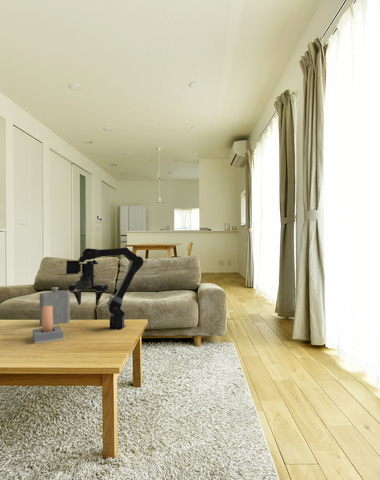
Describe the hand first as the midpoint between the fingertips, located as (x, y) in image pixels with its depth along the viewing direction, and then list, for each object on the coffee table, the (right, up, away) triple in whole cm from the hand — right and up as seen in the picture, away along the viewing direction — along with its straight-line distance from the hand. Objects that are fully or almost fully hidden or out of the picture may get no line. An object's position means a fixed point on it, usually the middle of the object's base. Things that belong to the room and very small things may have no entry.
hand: (88, 304), depth 155 cm
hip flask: (-23, -14, +16) cm, 32 cm away
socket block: (-15, -13, -11) cm, 23 cm away
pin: (-15, -12, -11) cm, 22 cm away
